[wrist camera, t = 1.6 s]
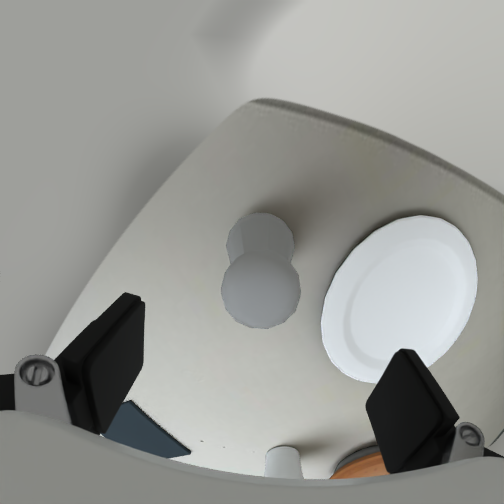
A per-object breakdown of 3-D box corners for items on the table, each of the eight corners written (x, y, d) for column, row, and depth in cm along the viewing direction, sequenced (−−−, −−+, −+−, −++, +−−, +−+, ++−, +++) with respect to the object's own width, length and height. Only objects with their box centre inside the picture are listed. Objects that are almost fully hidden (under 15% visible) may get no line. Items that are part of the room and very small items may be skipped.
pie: (415, 428, 35) (424, 448, 30) (392, 469, 39) (397, 487, 34) (330, 447, 36) (335, 471, 31) (320, 484, 40) (323, 503, 35)
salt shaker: (245, 277, 28) (233, 359, 15) (219, 224, 26) (183, 273, 14) (301, 254, 27) (331, 323, 14) (277, 198, 26) (292, 225, 13)
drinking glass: (269, 439, 35) (270, 525, 20) (310, 444, 35) (321, 525, 21) (255, 459, 37) (252, 535, 22) (293, 464, 37) (298, 537, 23)
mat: (83, 415, 36) (82, 417, 36) (130, 399, 34) (129, 402, 33) (138, 460, 39) (137, 462, 39) (191, 451, 37) (190, 454, 36)
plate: (277, 318, 29) (278, 327, 27) (413, 170, 24) (421, 171, 22) (384, 397, 32) (388, 405, 31) (489, 289, 27) (496, 294, 26)
